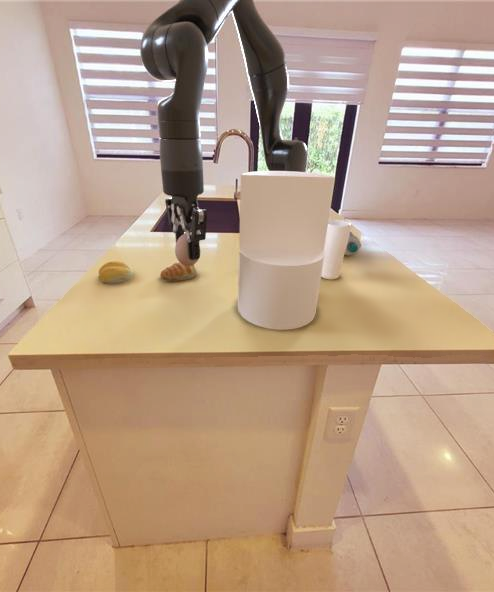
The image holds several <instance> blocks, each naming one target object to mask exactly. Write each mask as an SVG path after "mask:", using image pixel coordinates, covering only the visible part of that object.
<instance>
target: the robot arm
mask: <svg viewBox="0 0 494 592" xmlns="http://www.w3.org/2000/svg"><path fill="white" fill-rule="evenodd" d="M231 14H232V17H233V20H234V24H235V27H236V31H237V34H238V39H239V42H240V46H241V51H242V54H243V59H244V64H245V68H246V73H247V78H248V82H249V86H250V90H251V93H252V97H253V101H254V105H255V110H256V115H257V118H258V119H257V120H258V123H259V129H260V135H261V143H262V149H263V150H262V151H263V155H264V156H263V157H264V161H265V165H266V167H267V168H266V169H268V170H267V171H295V172H306V171H307V170H306V169H307V163H308V148H307V145H306V143H305V142H304V141H301V140H297V139H296V140H295V139H283V135H282V132H281V115H282V112H283V108H284V106H285V103H286V100H287V97H288V94H289V90H290V89H289V88H290V78H289V72H288V64H287V58H286V54H285V53H286V52H285V49H284V47H283V46H282V44H281V42H280V40H279V39H278V38H277V36H276V35H275V33H274V32H273V31H272V30H271V28H270V27H269V26H268V25H267V23H266V22H265V21H264V19H263V17H262V16H261V14H260V13H259V10H258V9H257V6H256V4H255V2H254V0H179V1H177V2H176V3H175V4H174V5H173V6H171V7H170V8H168V9H167V10H165V11H163V13H162V14H160V15H159V16H158V17H157V18H155V19H154V20H153V21H152V22H151V23H150V24H149V25H148V26H147V28H146V29H145V31H144V32H143V35H142V38H141V41H140V47H139V48H140V49H139V51H140V53H139V54H140V59H141V63H142V65H143V69H144V70H145V71H146V72H147V74H148V75H149V76H150V77H152V79H155V80H157V81H161V82H174V87H173V90H172V93H171V95H169V96H167V97H165V98H162V99H160V100H159V101H158V102H157V107H156V109H157V110H156V113H157V114H156V116H157V125H158V136H159V137H158V138H159V160H160V161H159V162H160V172H161V173H160V174H161V183H162V191H163V194H164V195H166V196H170V197H171V198H166V199H165V200H164V203H165V207H166V214H167V220H168V226H169V228H170V229H172V232H173V234H174V235H175V244H176V243H177V241H178V239H179V237H180V236H182V235H183V234H186V236H187V240H188V257H189V259H190V260H196V259H200V258H201V246H200V242H201V241H205V240H206V239H207V238H206V237H207V236H206V235H207V226H208V225H207V224H208V211H207V209H201V208H200V206H199V202H198V196H200V195H203V193H204V191H205V188H204V186H205V185H204V164H203V163H204V162H203V161H204V160H203V149H202V143H201V124H200V120H201V119H200V110H201V105H202V98H203V93H204V88H205V84H206V83H205V82H206V78H207V74H208V73H207V72H208V67H209V50H208V46H209V45H210V44H211V43H212V41H213V40H214V39H215V37H216V36H217V34H218V33H219V31H220V30H221V28H222V26H223V25H224V23H225V21H226V20H227V18H228V17H229V15H231ZM189 224H190V225H189Z"/></svg>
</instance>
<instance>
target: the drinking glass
mask: <svg viewBox="0 0 494 592" xmlns="http://www.w3.org/2000/svg"><path fill="white" fill-rule="evenodd" d="M351 229H352V223H351V222H350V221H346V220H342V219H329V221H328V227H327V233H326V240H325V246H324V262H323V268H322V274H321V279H325V280H330V281H331V280H337V279H338V278H339V277H340V273H341V268H342V266H343V261H344V258H345V251H346V247H347V244H348V240H349V235H350V232H351Z"/></svg>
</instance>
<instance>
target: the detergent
mask: <svg viewBox="0 0 494 592" xmlns="http://www.w3.org/2000/svg"><path fill="white" fill-rule="evenodd" d="M361 248H362V243H361V241H360V239H359V238H358V237H357V236H356V235H355V234H354V233H353V232H352V231H350V235H349V240H348V244H347V247H346V251H345V254H344V256H352V255H354V254H356V253H357V252H358V251H359V250H360V249H361Z"/></svg>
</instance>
